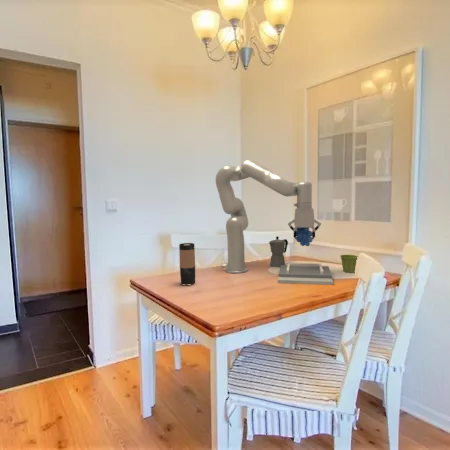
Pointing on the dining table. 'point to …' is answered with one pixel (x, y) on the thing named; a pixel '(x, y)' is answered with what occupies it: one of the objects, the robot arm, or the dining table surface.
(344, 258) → the plant pot
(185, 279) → the travel mug
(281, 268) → the dock
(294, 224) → the robot arm
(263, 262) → the dining table surface
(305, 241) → the grapes
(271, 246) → the coffeepot
